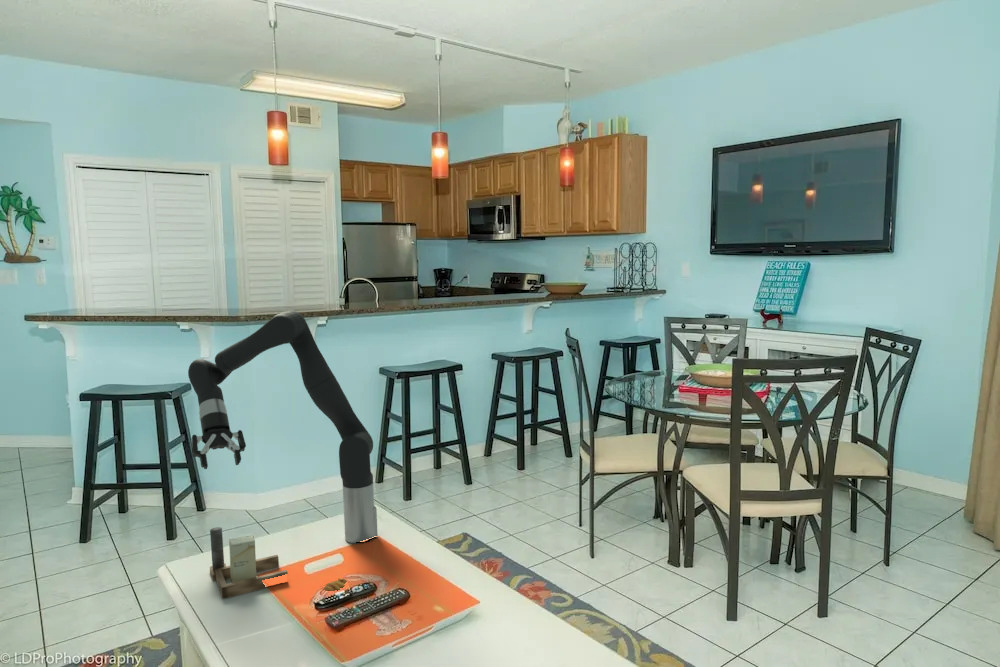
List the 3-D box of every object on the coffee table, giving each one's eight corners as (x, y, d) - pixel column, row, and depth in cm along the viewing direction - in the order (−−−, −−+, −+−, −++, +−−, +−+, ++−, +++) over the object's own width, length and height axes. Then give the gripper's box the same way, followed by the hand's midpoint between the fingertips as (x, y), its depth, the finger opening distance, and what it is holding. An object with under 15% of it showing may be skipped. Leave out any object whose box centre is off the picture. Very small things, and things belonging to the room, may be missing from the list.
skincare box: (232, 590, 169) (229, 545, 168) (230, 583, 173) (228, 539, 172) (257, 584, 172) (255, 540, 171) (255, 577, 176) (253, 534, 175)
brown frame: (273, 557, 188) (271, 515, 187) (288, 582, 173) (285, 537, 171) (210, 571, 180) (207, 528, 179) (219, 599, 164) (216, 552, 163)
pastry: (323, 610, 159) (322, 595, 158) (307, 602, 163) (306, 587, 162) (354, 595, 166) (353, 581, 165) (338, 587, 170) (337, 573, 170)
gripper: (189, 413, 187) (196, 462, 179) (241, 408, 195) (250, 456, 187) (186, 426, 192) (193, 475, 184) (236, 421, 200) (245, 468, 192)
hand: (222, 465), depth 186 cm, fingers open, 8 cm apart
